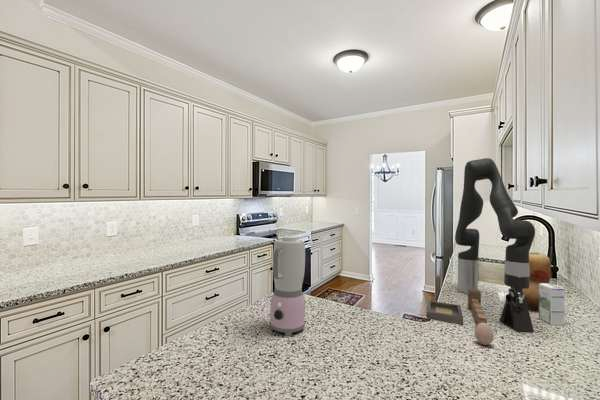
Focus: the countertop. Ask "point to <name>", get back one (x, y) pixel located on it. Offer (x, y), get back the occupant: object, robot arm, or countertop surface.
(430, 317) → the silver shallow tray
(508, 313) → the phone stand
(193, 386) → the countertop surface
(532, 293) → the butternut squash
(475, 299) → the door-edge rail
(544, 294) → the syrup box
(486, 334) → the egg
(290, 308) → the blender
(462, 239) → the robot arm
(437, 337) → the countertop surface
